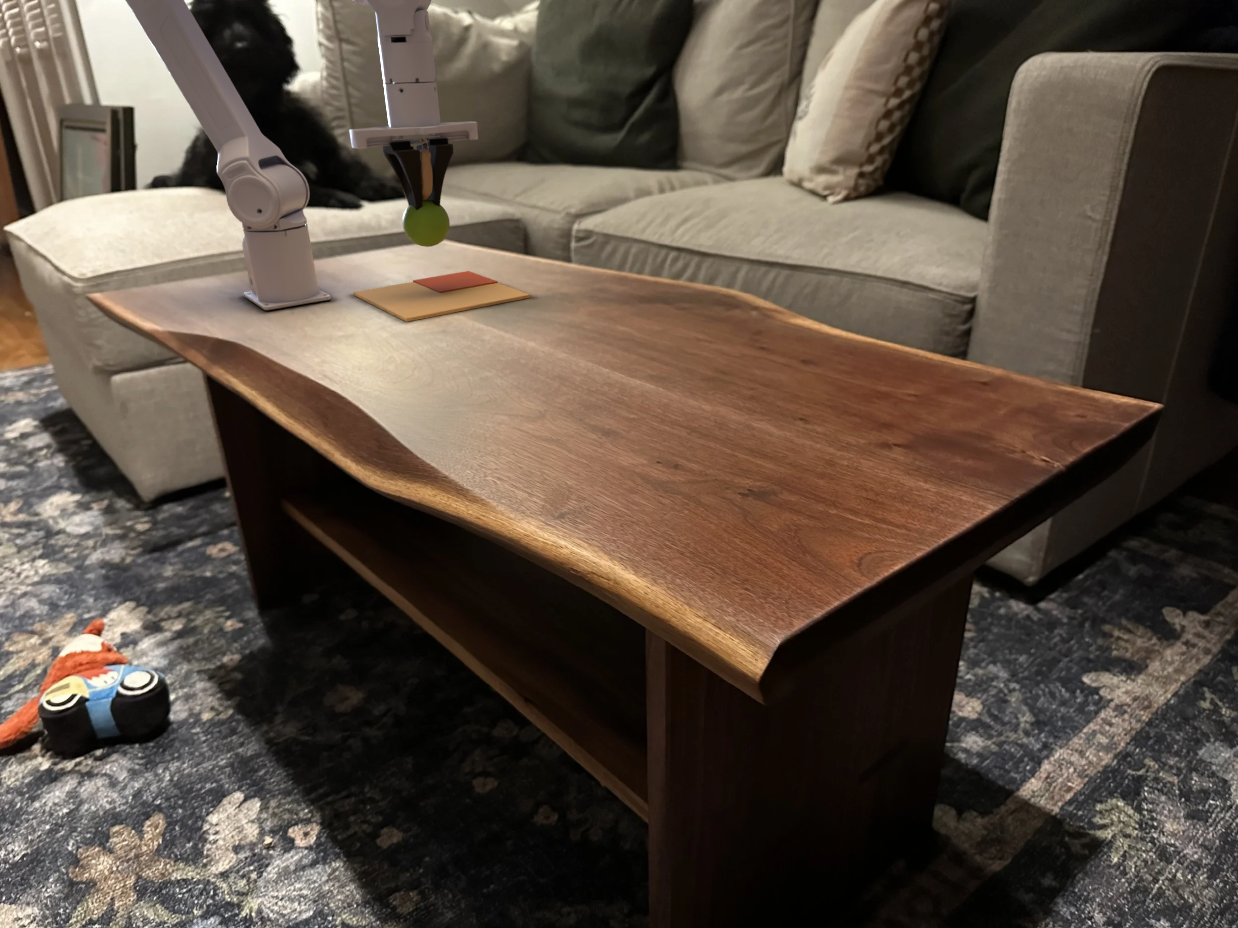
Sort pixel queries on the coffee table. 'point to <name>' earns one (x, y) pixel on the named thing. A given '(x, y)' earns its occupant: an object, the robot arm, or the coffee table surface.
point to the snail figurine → (426, 209)
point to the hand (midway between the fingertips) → (424, 210)
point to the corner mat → (439, 295)
